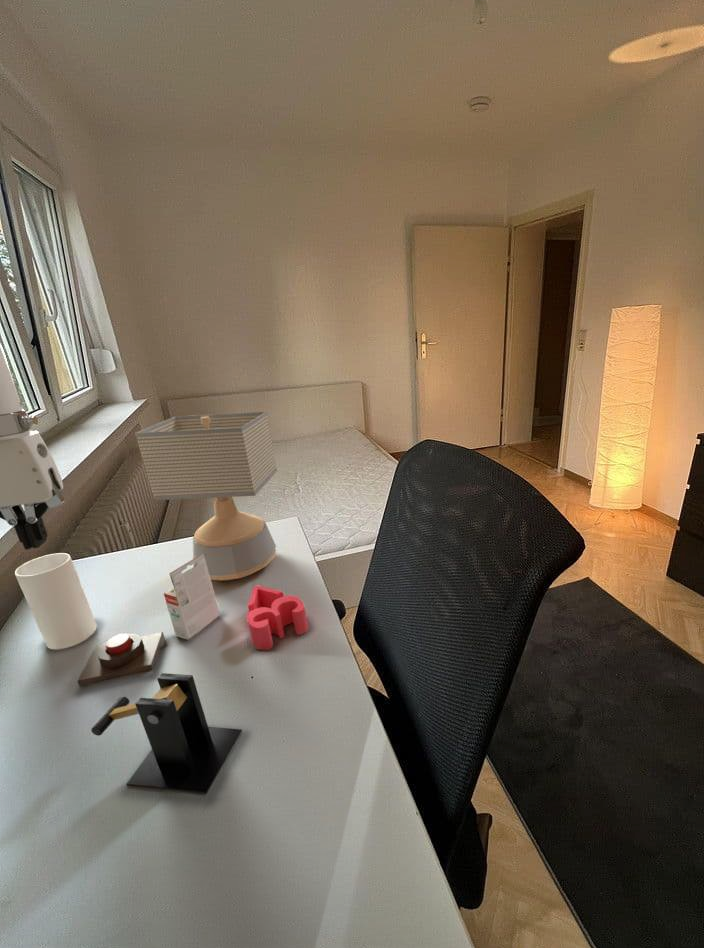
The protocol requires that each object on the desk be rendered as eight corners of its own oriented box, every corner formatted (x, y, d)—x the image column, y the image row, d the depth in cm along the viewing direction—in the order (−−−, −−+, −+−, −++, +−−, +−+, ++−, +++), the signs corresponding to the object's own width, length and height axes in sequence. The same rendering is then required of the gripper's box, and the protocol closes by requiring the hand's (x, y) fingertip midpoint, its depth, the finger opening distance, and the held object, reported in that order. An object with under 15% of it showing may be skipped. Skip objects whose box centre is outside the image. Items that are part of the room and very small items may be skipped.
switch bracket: (129, 790, 56) (97, 715, 52) (172, 729, 65) (149, 660, 60) (208, 799, 55) (183, 723, 50) (243, 735, 63) (224, 664, 58)
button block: (81, 691, 73) (73, 672, 71) (100, 654, 81) (93, 637, 79) (154, 674, 75) (148, 656, 74) (165, 640, 83) (160, 623, 82)
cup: (35, 646, 84) (2, 574, 78) (74, 619, 91) (47, 551, 85) (69, 652, 82) (38, 578, 76) (107, 623, 89) (81, 554, 83)
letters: (235, 615, 89) (230, 594, 87) (283, 596, 95) (280, 576, 93) (258, 653, 78) (253, 630, 77) (311, 629, 84) (307, 607, 82)
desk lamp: (292, 545, 116) (268, 406, 103) (270, 586, 99) (237, 424, 85) (211, 548, 117) (177, 411, 104) (175, 589, 100) (128, 430, 86)
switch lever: (98, 739, 57) (86, 726, 56) (126, 707, 61) (115, 694, 60) (169, 721, 53) (158, 706, 53) (193, 689, 58) (183, 675, 57)
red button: (105, 657, 75) (102, 649, 74) (112, 643, 78) (109, 635, 77) (129, 652, 75) (126, 644, 75) (134, 639, 79) (132, 631, 78)
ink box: (175, 636, 84) (154, 570, 79) (207, 612, 91) (191, 549, 86) (188, 641, 83) (169, 574, 77) (221, 616, 89) (205, 552, 84)
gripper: (66, 417, 67) (100, 528, 73) (-54, 426, 63) (-7, 541, 70) (42, 427, 60) (82, 548, 66) (-94, 438, 56) (-38, 564, 63)
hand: (36, 544), depth 68 cm, fingers closed
